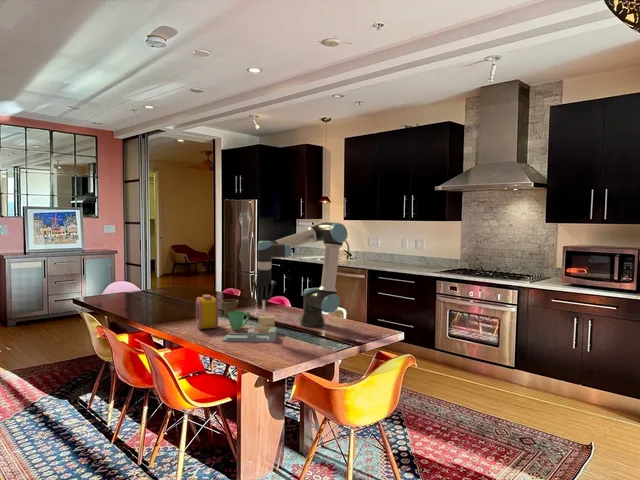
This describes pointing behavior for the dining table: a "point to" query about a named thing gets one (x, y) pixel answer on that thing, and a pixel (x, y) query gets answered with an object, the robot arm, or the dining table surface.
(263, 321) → the maple block
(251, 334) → the slide jaw
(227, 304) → the flower pot
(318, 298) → the robot arm
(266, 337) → the vise
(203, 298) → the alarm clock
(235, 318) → the mug
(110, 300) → the dining table surface
